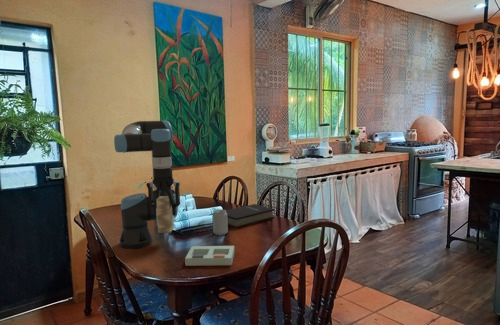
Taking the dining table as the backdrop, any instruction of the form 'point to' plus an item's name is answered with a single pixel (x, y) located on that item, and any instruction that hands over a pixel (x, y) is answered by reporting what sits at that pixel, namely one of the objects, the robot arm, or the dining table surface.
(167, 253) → the dining table surface
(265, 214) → the book
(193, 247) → the socket board
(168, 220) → the maple peg
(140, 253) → the dining table surface
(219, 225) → the can
